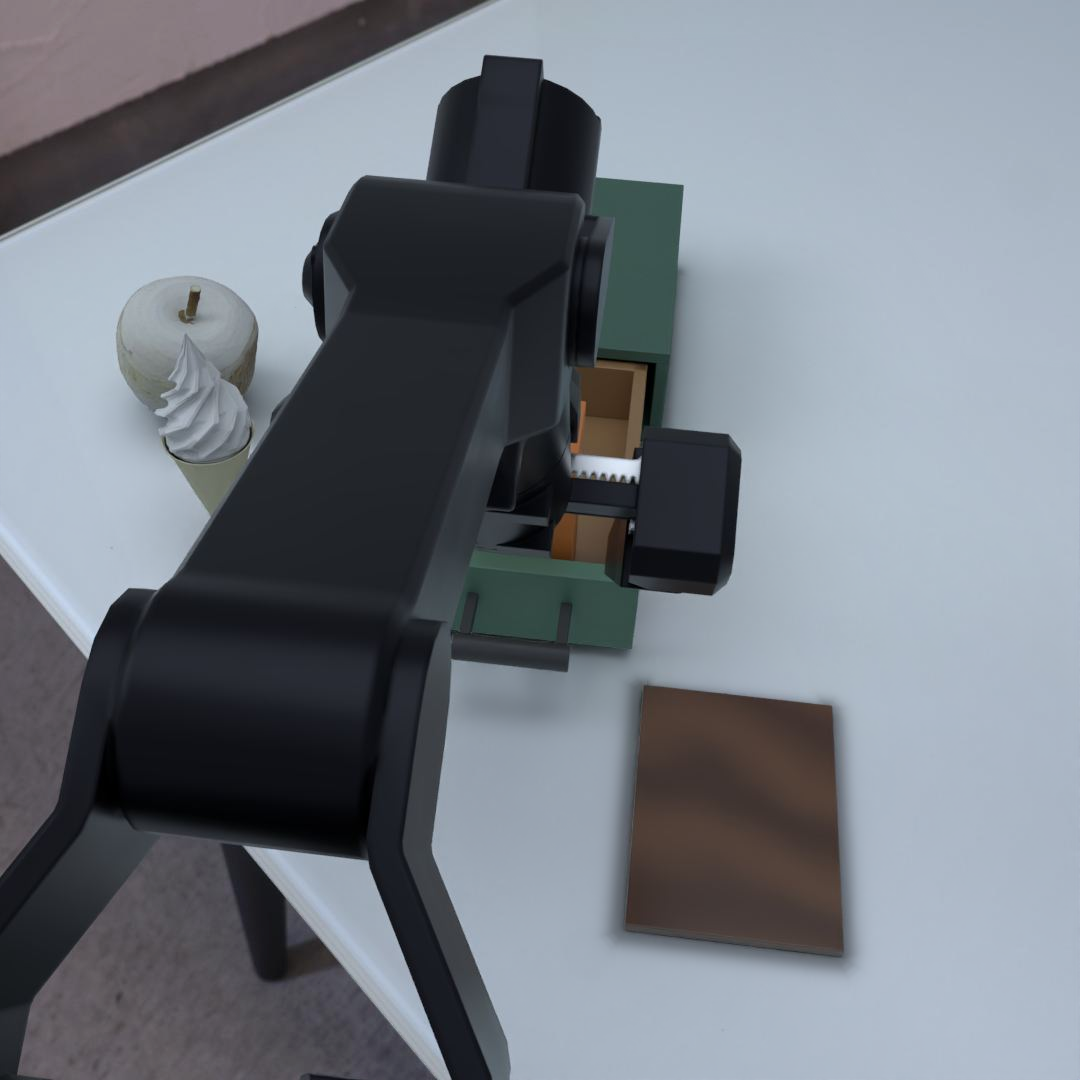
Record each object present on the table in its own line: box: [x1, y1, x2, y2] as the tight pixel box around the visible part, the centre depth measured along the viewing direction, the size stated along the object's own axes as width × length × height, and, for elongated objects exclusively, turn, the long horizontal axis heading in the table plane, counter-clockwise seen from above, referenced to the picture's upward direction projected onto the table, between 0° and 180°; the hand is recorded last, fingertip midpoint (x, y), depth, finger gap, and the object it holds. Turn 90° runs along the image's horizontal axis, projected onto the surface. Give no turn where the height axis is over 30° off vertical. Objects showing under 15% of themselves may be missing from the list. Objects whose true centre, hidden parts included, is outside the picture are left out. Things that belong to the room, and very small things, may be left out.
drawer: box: [451, 359, 648, 673], centre depth 74 cm, size 23×12×5 cm, turn 173°
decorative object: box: [115, 275, 259, 419], centre depth 82 cm, size 9×9×10 cm
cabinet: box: [591, 176, 685, 441], centre depth 89 cm, size 20×14×7 cm
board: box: [623, 684, 845, 958], centre depth 65 cm, size 14×10×1 cm
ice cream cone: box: [154, 333, 256, 517], centre depth 72 cm, size 5×5×15 cm
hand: (510, 550), depth 60 cm, fingers open, 9 cm apart
